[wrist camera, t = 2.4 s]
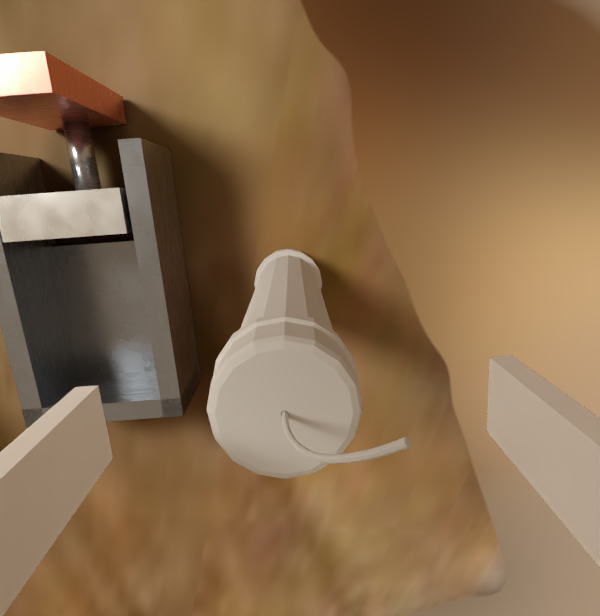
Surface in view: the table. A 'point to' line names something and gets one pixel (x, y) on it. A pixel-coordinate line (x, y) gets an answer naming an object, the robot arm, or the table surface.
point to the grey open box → (102, 301)
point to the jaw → (76, 123)
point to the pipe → (288, 379)
